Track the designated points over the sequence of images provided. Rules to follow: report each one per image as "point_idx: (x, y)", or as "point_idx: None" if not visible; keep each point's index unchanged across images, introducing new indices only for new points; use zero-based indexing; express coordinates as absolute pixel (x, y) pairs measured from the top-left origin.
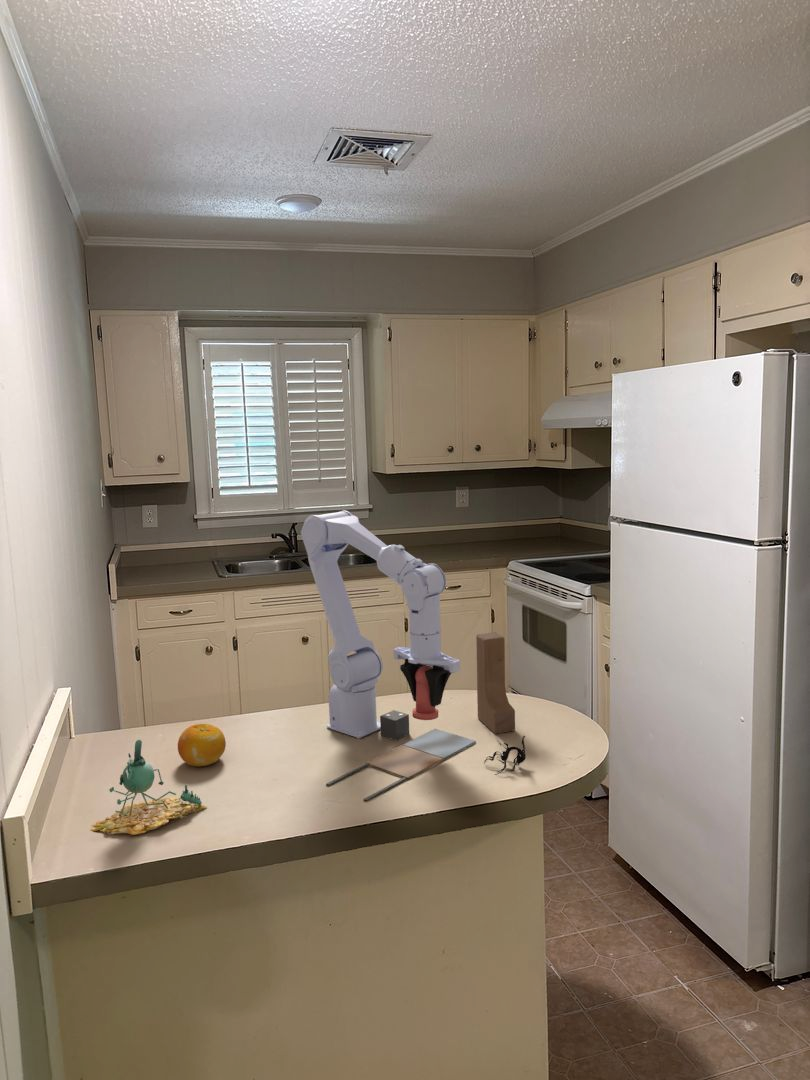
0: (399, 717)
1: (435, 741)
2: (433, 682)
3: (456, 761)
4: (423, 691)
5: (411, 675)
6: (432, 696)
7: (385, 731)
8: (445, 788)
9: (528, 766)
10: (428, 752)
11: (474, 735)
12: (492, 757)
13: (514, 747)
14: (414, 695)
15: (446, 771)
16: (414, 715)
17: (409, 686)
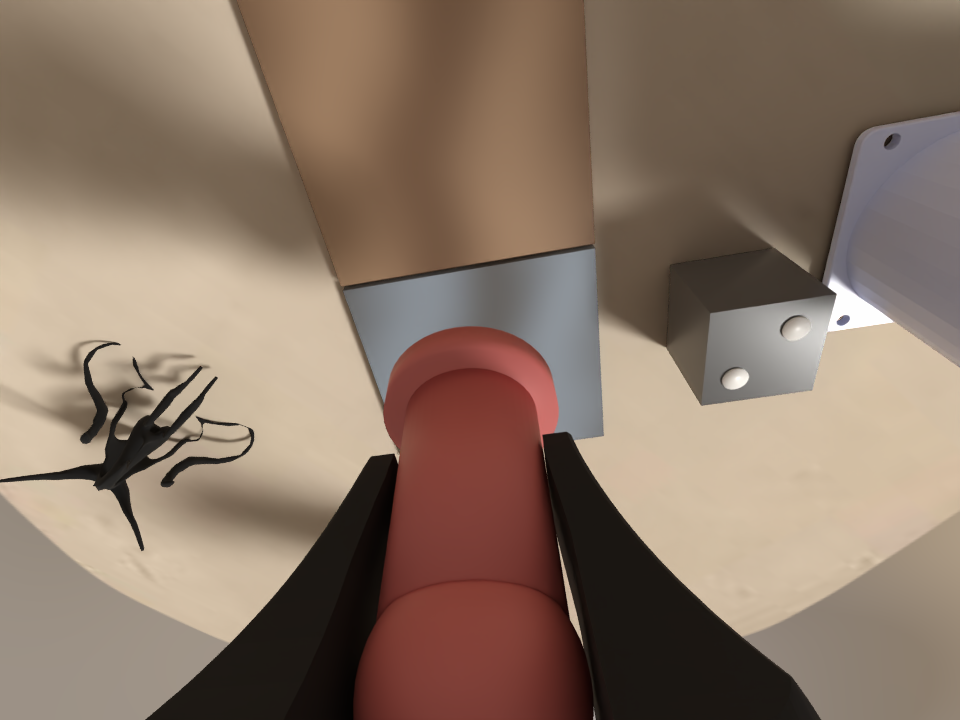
0: (718, 354)
1: None
2: (231, 656)
3: (305, 315)
4: (418, 520)
5: (594, 640)
6: (342, 515)
7: (754, 265)
8: (50, 85)
9: None
10: (437, 279)
11: None
12: (188, 407)
13: (100, 482)
14: (551, 463)
15: (234, 220)
16: (481, 336)
17: (613, 511)
